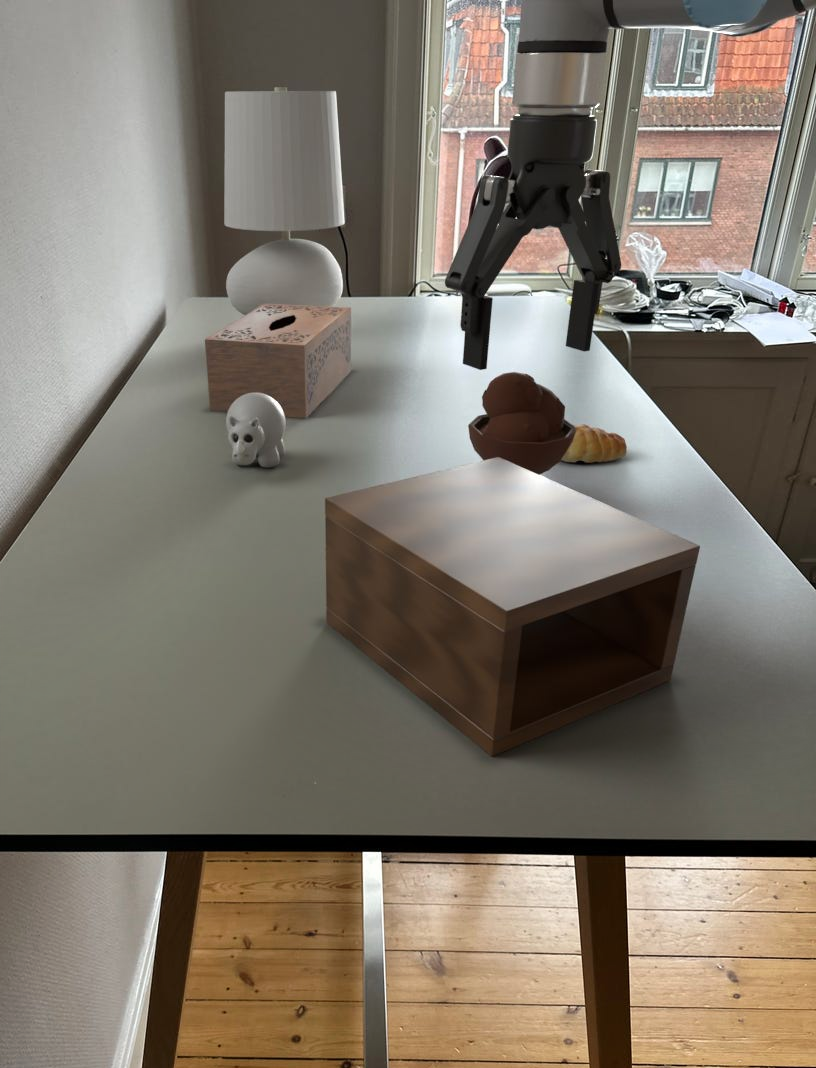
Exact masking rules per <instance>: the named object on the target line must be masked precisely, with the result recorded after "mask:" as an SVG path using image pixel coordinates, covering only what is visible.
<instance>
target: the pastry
mask: <svg viewBox="0 0 816 1068" xmlns="http://www.w3.org/2000/svg"><path fill="white" fill-rule="evenodd" d="M572 425H573V426H575V427H576V428H577V430H576V433H575V436H574V439H573V442H572V444H571V445H570V447H569V448H568V450H567V452H566V453H565V455H564V456H563V458H562V459H561V460H560V461H562V462H565V463H577V462H578V461H582V462H584V463H594V462H595V463H602V462H604V463H607V462H613V461H616V460H618V459H620V458H624V457H625V456H626V454H627V450H628V449H627V447H628V446H627V443H626V440H625V438H624V437H622V436H621V435H619V434H618V433H615V432H607V431H606V430H604V429H603V428H602V429H601V428H599V427H593V426H589V425H587V424H579V425H574V424H572Z"/></svg>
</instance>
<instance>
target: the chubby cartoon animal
mask: <svg viewBox="0 0 816 1068" xmlns="http://www.w3.org/2000/svg"><path fill="white" fill-rule="evenodd" d="M286 424H287V422H286V417H285V415H284V412H283V410H282V408H281V406H280V405H279V404H278V403H277V401H275V400H274V399H273V398H272V397H270V396H268V395H266V394H263V393H248V394H245V395H242V396H241V397H239V398H238V399H236V400H235V401H234V402H233V404H232V405H231V406H230V408H229V410H228V412H226V418H225V427H226V433H227V435H228V437H227V438H228V442H229V445H230V446H231V448H232V453H231V461H232V463H234V464H235V465H237V466H248V465H251V464H252V463H254V461H255V460H256V459H257V460H258V464H259V466H260V467H262V468H266V469H268V468H269V469H270V468H273V467H276V466H278V465H279V464H280V458H282V457H283V456H284V455H285V454H286V453H285V452H286V448H285V443H284V440H283V437H284V435H285V432H286V427H287V425H286Z"/></svg>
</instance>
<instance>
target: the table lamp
mask: <svg viewBox="0 0 816 1068" xmlns="http://www.w3.org/2000/svg"><path fill="white" fill-rule="evenodd" d="M273 90H274V91H273ZM273 90H271V91H270V90H268V91H267V90H265V91H259V90H257V91H225V92H224V195H223V196H224V206H223V207H224V208H223V209H224V210H223V212H224V216H223V217H224V219H223V220H224V221H223V222H224V226H225V227H228V228H231V229H237V230H245V231H246V230H247V231H263V232H281V238H280V239H278V240H273V241H270V242H266V243H264V244H262V245H260V246H258V247H256V248H254V249H253V250H252V251H250V252H248V253H246V255H244V256H243V257H241V258H239V260H238V261H237V262H235V263H234V265H233V266H232V267H231V268H230V270H229V271H228V274H227V277H226V281H225V288H226V295H227V297H228V300H229V302H230V304H231V306H232V307H233V308H234V309H235V310H236V311H237V312H239V313H240V314H242V315H243V316H245V315H246V314H248V313H250V312H251V311H253V310H255V309H256V308H258V307H260V306H261V305H263V304H284V305H305V306H325V307H335V305H337V303H338V302H339V301H340V299H341V297H342V294H343V289H344V283H343V282H344V281H343V273H342V269H341V266H340V265H339V263H338V261H337V260H336V258H335V256H334V255H333V254H332V252H331V251H330V250H329V249H328V248H327V247H325V246H324V245H322V244H320V243H318V242H315V241H313V240H308V239H304V238H303V239H302V238H291V232H295V231H296V232H297V231H299V232H300V231H314V230H325V229H332V228H337V227H341V226H344V225H345V223H346V222H345V206H344V205H345V204H344V193H343V177H342V175H343V174H342V163H341V146H340V133H339V132H340V130H339V117H338V103H337V102H338V101H337V91H336V90H291V91H290V90H288V87H287V86H284V87H281V86H280V87H279V86H277V87H274V89H273Z"/></svg>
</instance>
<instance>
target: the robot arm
mask: <svg viewBox="0 0 816 1068" xmlns="http://www.w3.org/2000/svg"><path fill="white" fill-rule="evenodd" d="M815 9H816V0H521V5H520V16H519V17H520V18H519V30H518V31H519V32H518V42H517V49H516V56H515V66H514V67H515V70H514V79H513V88H512V89H513V90H512V101H511V104H512V105H513V106H514V107H515V108H518V114H514V115H512V118H510V120H509V121H510V122H509V131H508V132H509V134H508V143H507V144H508V145H507V158H508V160H509V161H510V164H511V168H510V169H511V170H510V173H509V176H508V177H505V176H497V175H487V174H485V175H483V176H482V177H481V179H480V182H479V187H478V188H479V189H478V194H477V201H476V204H475V207H474V209H473V212H472V214H471V216H470V219H469V222H468V223H467V226H466V229H465V231H464V233H463V236H462V238H461V241H460V243H459V244H458V245H459V246H458V248H457V250H456V253H455V255H454V258H453V259H452V262H451V265H450V267H449V269H448V272H447V274H446V276H445V279H444V285H445V288H447V289H451V290H453V291H456V293H460V295H461V314H460V329H461V331H462V332H464V340H463V341H464V342H463V353H462V354H463V355H462V365H464V366H465V365H466V366H468V367H470V368H473V369H476V370H479V371H482V370H483V371H484V370H487V369H488V357H489V345H490V335H491V334H490V333H491V321H492V311H493V310H492V309H493V300H494V299H493V297H492V296H489V295H486V294H487V292H489V290H490V288H491V287H492V285H493V284H494V282H495V281H496V279H497V277H498V276H499V274H500V273H501V271H502V269H503V268H504V267H505V265H506V263H507V262H508V260H509V259H510V258H511V256H512V255H513V253H514V251H515V250H516V248H517V247H518V246H519V244H520V242H521V240H522V239H523V238H524V237H525V236H528V235H529V234H530V233H531V232H532V230H533V229H534V230H543V229H546V228H548V227H550V228H557V229H558V231H559V233H560V235H561V237H562V239H563V241H564V243H565V245H566V247H567V250H568V251H569V254H570V255H571V258H572V259H573V262H574V264H575V265H576V268H577V270H578V272H579V275H580V276H581V278H583V279H574V280H573V286H572V294H571V302H570V308H569V309H570V310H569V317H568V325H567V333H566V340H565V347H566V348H569V349H574V350H578V351H580V352H584V353H585V352H590V351H591V344H592V337H593V330H594V324H595V316H596V315H597V314H598V312H599V309H600V302H601V295H602V290H603V283H604V284H610V283H611V282H612V281H613V278H614V274H618V273H619V272H620V271H621V269H622V260H621V255H620V254H621V253H620V249H619V244H618V238H617V233H616V228H615V227H616V226H615V221H614V217H613V216H614V215H613V211H612V206H611V201H610V190H611V189H610V187H611V173H610V172H609V171H605V170H597V169H586V170H585V165H586V163H589V162H590V161H591V160H592V158H593V156H594V149H595V142H596V141H595V140H596V133H597V126H598V119H596V115H593V108H597V107H598V106H600V104H601V98H602V97H601V95H602V90H603V88H602V87H603V82H604V81H603V80H604V72H605V71H604V70H605V63H606V55H607V54H606V53H607V48H608V47H607V46H608V41H609V35H610V29H612V30H613V29H614V30H626V29H686V30H695V31H703V32H704V31H705V32H712V33H719V34H722V35H724V36H727V37H731V38H741V37H746V36H750V35H754V34H758V33H762V32H764V31H767V30H768V29H769V28H771V27H772V26H774V25H775V24H777V23H778V22H780V21H783V20H786V19H789V18H792V17H796V16H797V15H800V14H802V13H805V12H809V11H811V10H815ZM580 198H581V202H580V201H579V200H580ZM508 202H509V203H508ZM506 203H508V204H507V206H506ZM505 206H506V207H505Z"/></svg>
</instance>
